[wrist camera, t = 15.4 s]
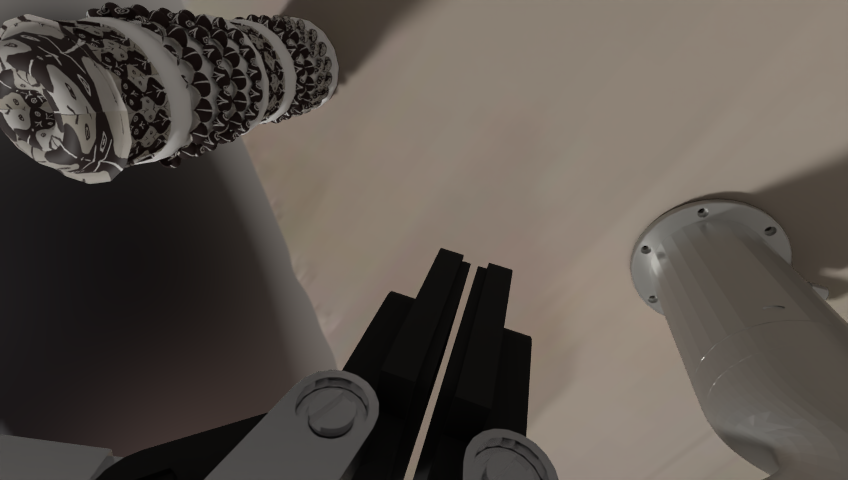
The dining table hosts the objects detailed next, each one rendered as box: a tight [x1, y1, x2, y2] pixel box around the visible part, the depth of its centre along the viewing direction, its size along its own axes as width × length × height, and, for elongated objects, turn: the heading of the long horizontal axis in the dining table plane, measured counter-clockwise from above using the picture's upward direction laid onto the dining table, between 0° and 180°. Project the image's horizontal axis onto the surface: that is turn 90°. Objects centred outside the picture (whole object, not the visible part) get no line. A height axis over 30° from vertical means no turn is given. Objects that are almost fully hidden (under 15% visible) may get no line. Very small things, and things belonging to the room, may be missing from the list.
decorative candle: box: [0, 2, 339, 184], centre depth 31 cm, size 9×9×25 cm
